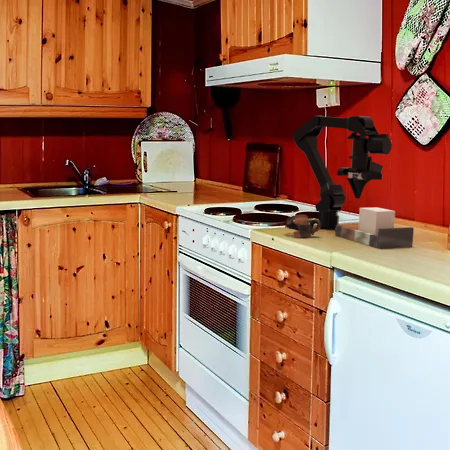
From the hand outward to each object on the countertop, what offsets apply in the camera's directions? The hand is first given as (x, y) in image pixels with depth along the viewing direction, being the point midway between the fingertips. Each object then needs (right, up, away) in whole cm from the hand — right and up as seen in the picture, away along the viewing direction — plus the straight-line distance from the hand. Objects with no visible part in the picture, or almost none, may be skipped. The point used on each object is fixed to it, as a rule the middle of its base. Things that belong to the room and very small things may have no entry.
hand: (357, 198), depth 217 cm
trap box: (+2, -14, -14) cm, 20 cm away
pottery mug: (-20, -13, -8) cm, 25 cm away
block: (+2, -12, -16) cm, 20 cm away
